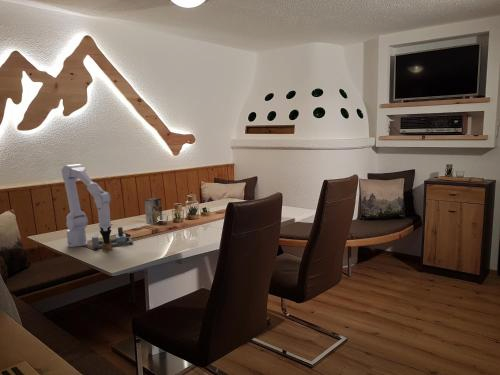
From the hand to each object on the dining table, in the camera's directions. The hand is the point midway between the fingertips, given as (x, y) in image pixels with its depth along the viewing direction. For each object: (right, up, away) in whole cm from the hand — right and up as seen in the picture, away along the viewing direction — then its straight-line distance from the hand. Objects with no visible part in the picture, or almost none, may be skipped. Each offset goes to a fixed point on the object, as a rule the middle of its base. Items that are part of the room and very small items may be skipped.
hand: (106, 241), depth 201 cm
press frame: (0, -3, +10) cm, 10 cm away
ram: (+4, -2, +12) cm, 12 cm away
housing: (0, -4, +1) cm, 4 cm away
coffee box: (+10, +4, +60) cm, 61 cm away
